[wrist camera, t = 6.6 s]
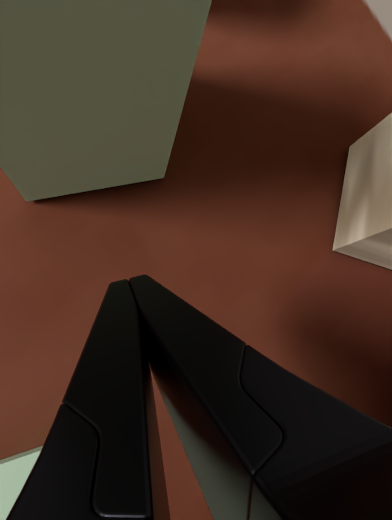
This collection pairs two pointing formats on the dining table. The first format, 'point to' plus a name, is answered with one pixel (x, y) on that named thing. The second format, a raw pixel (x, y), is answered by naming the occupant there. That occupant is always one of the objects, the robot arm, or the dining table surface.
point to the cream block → (368, 198)
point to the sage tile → (14, 477)
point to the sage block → (93, 90)
